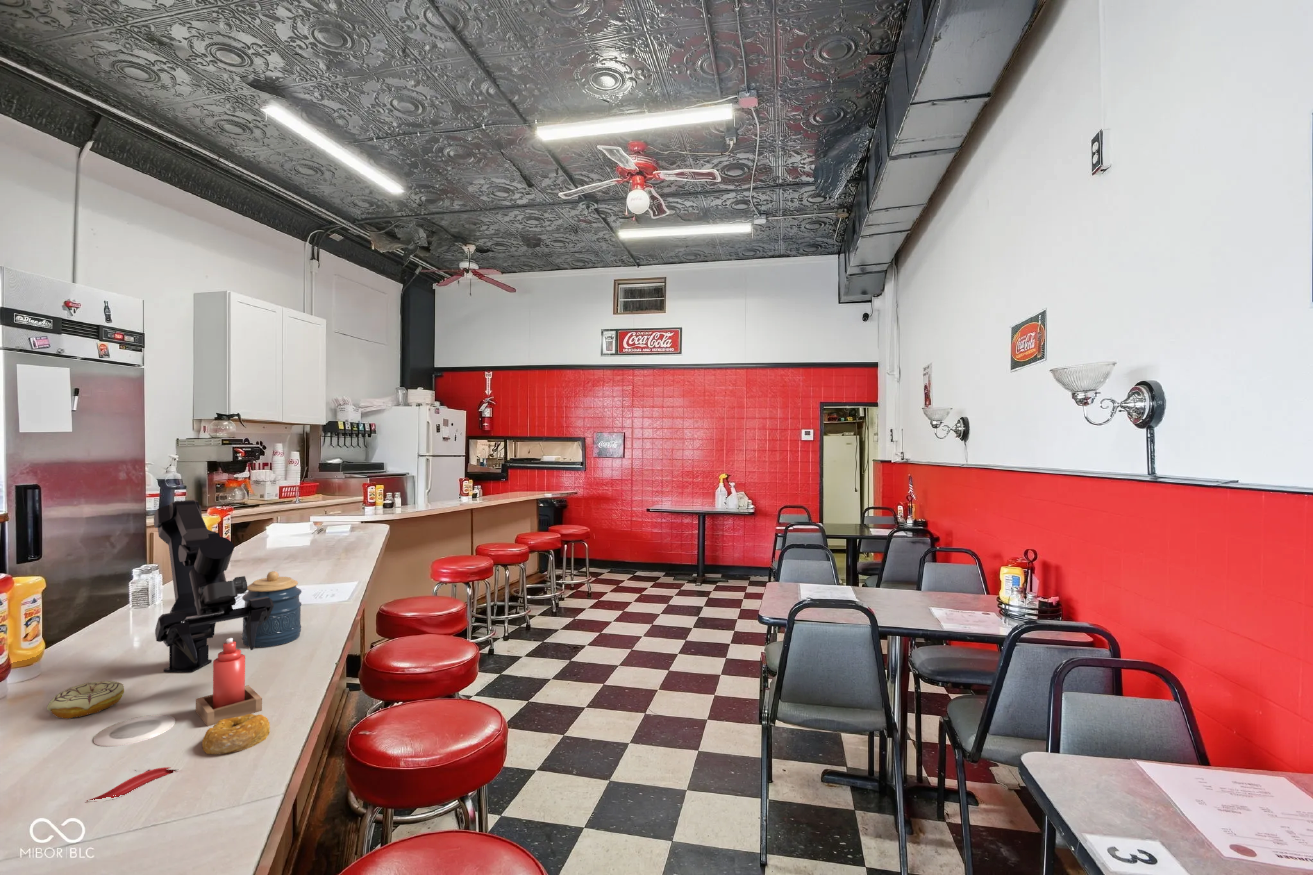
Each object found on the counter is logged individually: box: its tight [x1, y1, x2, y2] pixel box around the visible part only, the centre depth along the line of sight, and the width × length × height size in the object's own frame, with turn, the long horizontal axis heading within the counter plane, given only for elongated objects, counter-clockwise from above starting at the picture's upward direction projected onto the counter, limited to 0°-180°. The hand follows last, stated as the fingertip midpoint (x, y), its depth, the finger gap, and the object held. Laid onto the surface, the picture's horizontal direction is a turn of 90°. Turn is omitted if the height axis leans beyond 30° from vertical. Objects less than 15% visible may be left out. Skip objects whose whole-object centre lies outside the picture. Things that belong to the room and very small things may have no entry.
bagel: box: [201, 713, 271, 755], centre depth 106 cm, size 10×11×5 cm
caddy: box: [195, 685, 263, 727], centre depth 117 cm, size 9×9×3 cm
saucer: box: [93, 714, 176, 747], centre depth 109 cm, size 11×11×1 cm
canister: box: [241, 570, 303, 648], centre depth 158 cm, size 13×13×18 cm
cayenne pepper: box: [86, 766, 178, 801], centre depth 93 cm, size 12×5×2 cm, turn 133°
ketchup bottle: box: [212, 637, 246, 709], centre depth 117 cm, size 5×5×14 cm
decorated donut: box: [46, 680, 125, 720], centre depth 119 cm, size 10×11×4 cm
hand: (224, 655), depth 119 cm, fingers open, 9 cm apart
